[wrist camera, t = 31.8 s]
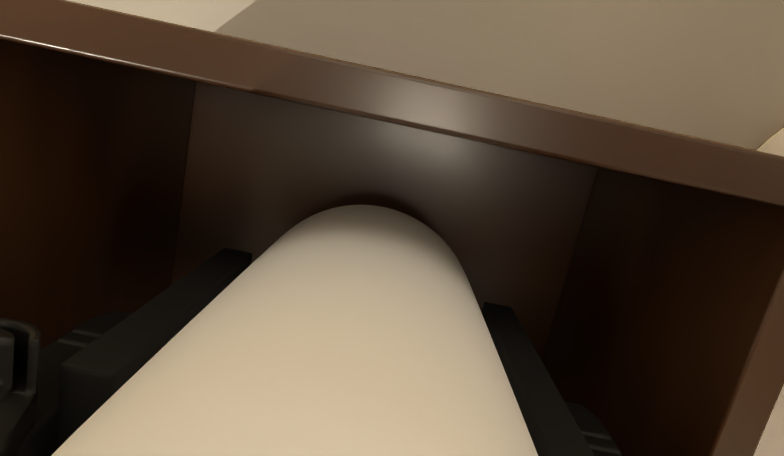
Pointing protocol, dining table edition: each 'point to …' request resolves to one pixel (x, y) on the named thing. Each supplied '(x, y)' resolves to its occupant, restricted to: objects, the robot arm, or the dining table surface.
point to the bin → (395, 207)
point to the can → (325, 357)
